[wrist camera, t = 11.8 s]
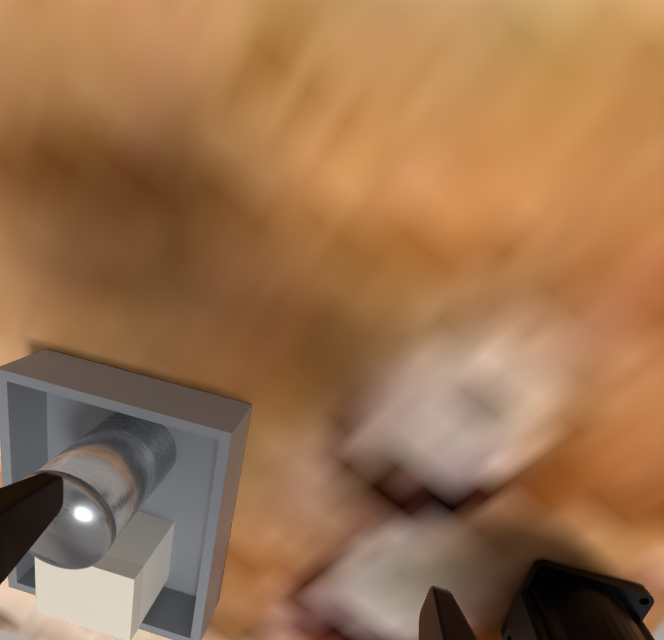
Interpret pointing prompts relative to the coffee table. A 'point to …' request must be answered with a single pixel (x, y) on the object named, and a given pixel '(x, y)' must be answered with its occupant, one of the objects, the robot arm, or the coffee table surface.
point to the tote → (171, 494)
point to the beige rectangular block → (111, 581)
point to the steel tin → (103, 487)
